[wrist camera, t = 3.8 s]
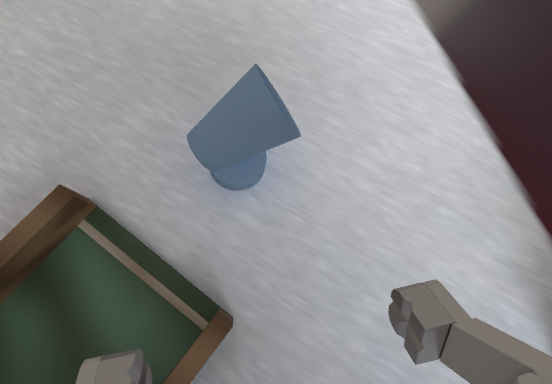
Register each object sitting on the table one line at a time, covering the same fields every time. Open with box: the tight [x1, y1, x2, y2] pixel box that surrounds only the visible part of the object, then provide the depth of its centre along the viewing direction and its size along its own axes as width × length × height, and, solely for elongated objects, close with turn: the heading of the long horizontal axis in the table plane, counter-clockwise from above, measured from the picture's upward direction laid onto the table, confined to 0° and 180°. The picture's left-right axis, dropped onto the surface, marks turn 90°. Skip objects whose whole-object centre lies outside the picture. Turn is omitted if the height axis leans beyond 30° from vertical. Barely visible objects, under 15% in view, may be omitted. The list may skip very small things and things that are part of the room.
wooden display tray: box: [0, 185, 233, 384], centre depth 19 cm, size 14×14×6 cm
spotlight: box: [187, 64, 301, 190], centre depth 22 cm, size 5×10×7 cm
